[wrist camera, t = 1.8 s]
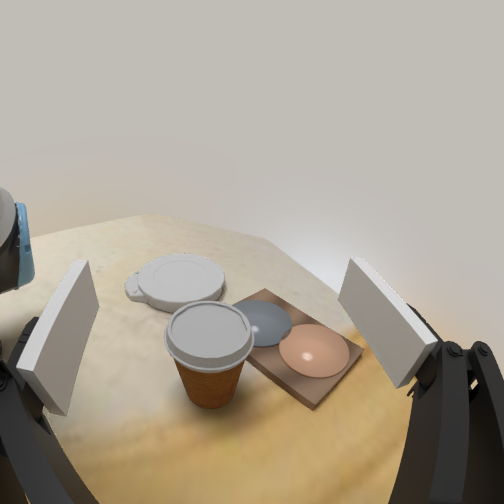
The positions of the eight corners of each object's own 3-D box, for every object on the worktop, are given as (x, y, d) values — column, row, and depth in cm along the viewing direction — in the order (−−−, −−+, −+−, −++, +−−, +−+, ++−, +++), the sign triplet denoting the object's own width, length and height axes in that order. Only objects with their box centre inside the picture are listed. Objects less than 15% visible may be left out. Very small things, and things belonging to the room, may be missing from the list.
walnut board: (206, 324, 44) (205, 318, 43) (264, 294, 53) (264, 288, 52) (312, 410, 31) (315, 404, 30) (360, 355, 40) (364, 349, 39)
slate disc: (210, 318, 43) (210, 316, 43) (257, 294, 50) (258, 292, 50) (258, 358, 36) (259, 357, 36) (305, 325, 44) (305, 323, 43)
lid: (130, 267, 57) (128, 255, 55) (216, 263, 62) (217, 251, 61) (120, 318, 42) (117, 305, 41) (232, 312, 48) (233, 298, 46)
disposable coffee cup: (236, 427, 28) (243, 372, 22) (163, 405, 29) (146, 344, 23) (252, 371, 36) (262, 308, 30) (189, 355, 37) (184, 290, 32)
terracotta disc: (263, 348, 38) (263, 346, 38) (307, 317, 46) (307, 315, 45) (323, 391, 32) (324, 389, 32) (360, 349, 39) (361, 347, 39)
